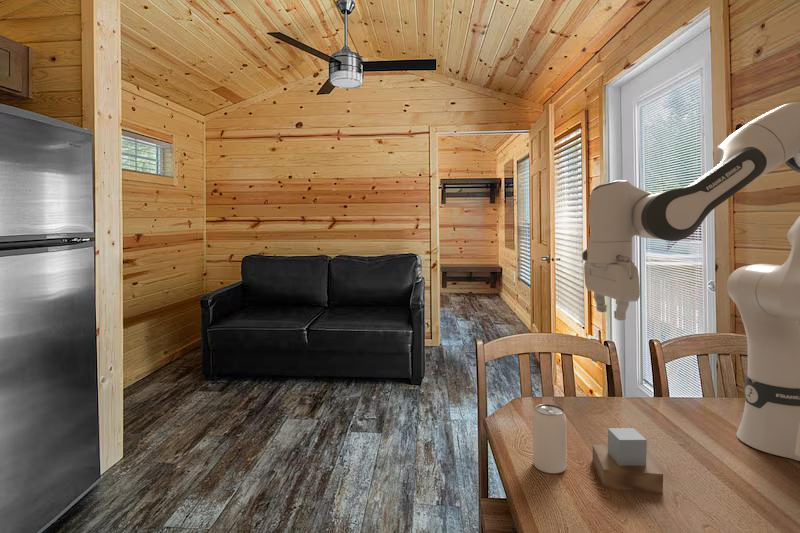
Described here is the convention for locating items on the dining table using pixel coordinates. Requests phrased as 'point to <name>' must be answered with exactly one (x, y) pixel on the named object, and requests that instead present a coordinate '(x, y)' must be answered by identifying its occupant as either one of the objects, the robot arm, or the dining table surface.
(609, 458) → the walnut block
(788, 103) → the robot arm
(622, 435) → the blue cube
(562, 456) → the can
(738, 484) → the dining table surface
